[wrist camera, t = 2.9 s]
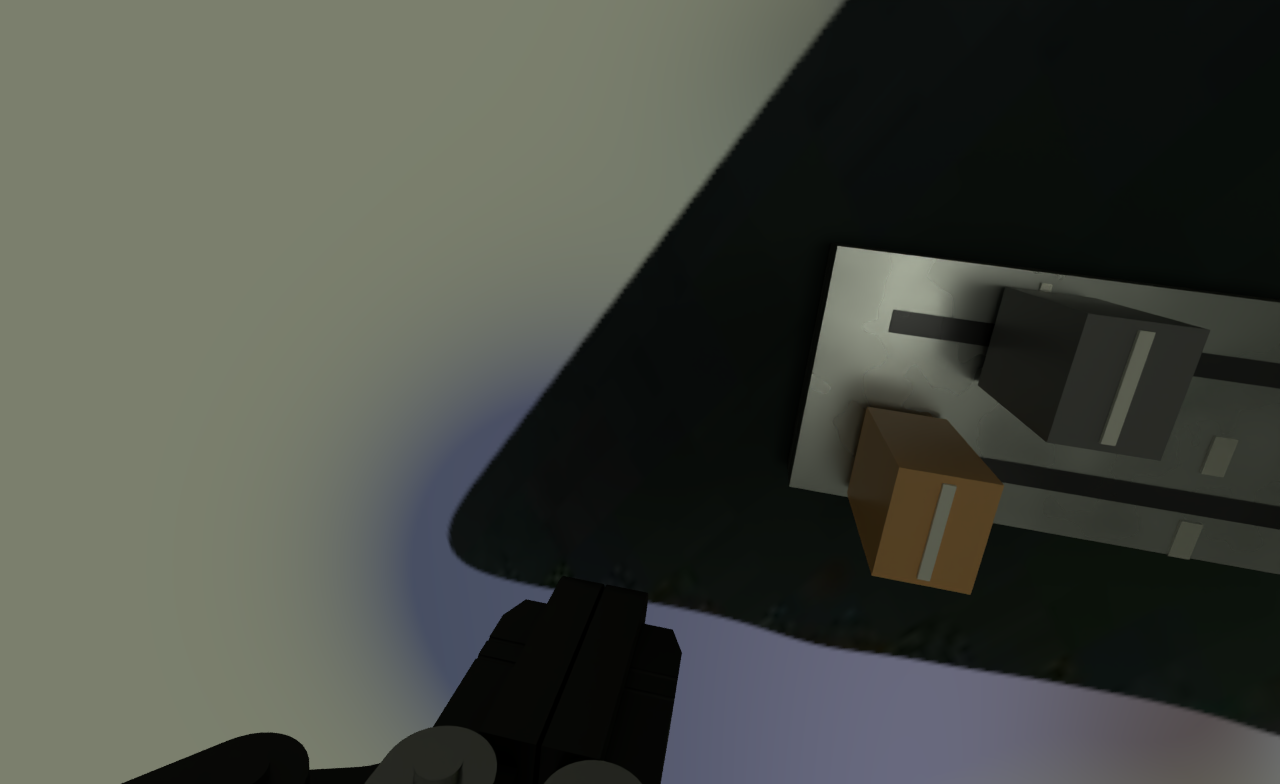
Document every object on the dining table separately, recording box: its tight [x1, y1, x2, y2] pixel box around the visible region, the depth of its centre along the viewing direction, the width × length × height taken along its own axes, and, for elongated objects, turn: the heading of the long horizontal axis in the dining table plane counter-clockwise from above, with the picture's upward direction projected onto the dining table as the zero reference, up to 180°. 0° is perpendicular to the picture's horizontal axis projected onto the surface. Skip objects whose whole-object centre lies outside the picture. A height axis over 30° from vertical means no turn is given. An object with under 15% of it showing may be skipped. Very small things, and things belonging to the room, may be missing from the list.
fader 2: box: [978, 286, 1210, 461], centre depth 17 cm, size 3×2×5 cm
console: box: [787, 243, 1280, 574], centre depth 20 cm, size 8×18×2 cm, turn 83°
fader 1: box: [847, 407, 1004, 595], centre depth 18 cm, size 3×2×5 cm
